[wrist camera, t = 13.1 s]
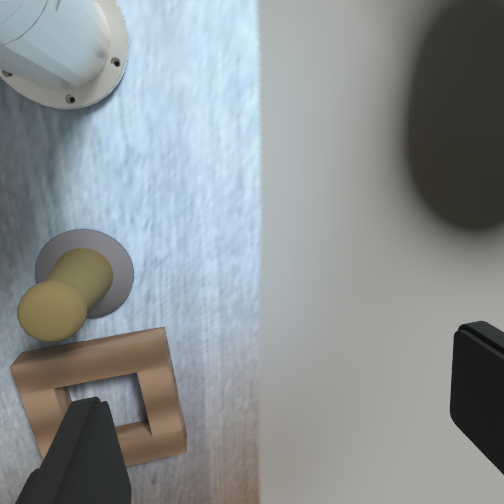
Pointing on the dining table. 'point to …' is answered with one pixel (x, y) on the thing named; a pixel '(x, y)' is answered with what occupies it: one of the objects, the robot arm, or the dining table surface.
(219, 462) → the dining table surface
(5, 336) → the dining table surface
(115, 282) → the coaster
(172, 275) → the dining table surface
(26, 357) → the square frame
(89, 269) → the cork
